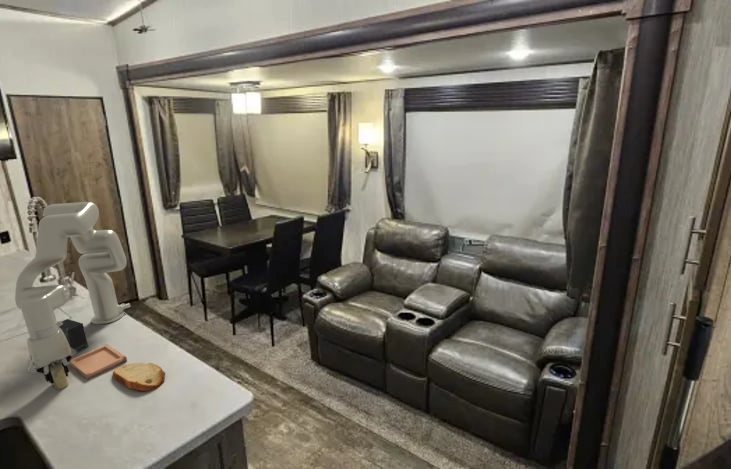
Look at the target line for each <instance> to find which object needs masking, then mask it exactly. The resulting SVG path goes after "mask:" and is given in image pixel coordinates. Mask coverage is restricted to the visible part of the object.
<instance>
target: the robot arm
mask: <svg viewBox="0 0 731 469" xmlns="http://www.w3.org/2000/svg"><path fill="white" fill-rule="evenodd" d="M42 213H43V217H42V218H40V220H39V223H38V230H37V241H36V250H35V252H36V253H35V256H34V258H33V259H31V260H30V262H28V263H27V264H26V266H25V267H24V268H23V269H22V270H21V272H20V274H19V275H18V276H17V279H16V285H15V294H14V300H15V305H16V307H17V308H18V309H20V311H21V313H22V316H23V319H24V323H25V325H26V326H25V327H26V329H27V332H28V335H29V337H28V338H27V342H26V343H27V350H28V356H29V359H30V363H29V365H28V368H27V372H29V373H37V374H38V373H39V374H42V375H43V376H44V378H45V379H44V380H45V381H46V382H49V383H50V384H51V385H53V384H52V383H54V381H53V378H52V374H51V372H50V371H49V369H48V365H49V364H51V363H52V362H56V360H59V361H60V362H61V364H62V366H63V368H64V371H65V374H66V378H68V377H69V373H70V370H69V367H68V365H69V361H70V360H71V359H73V357H74V356H75V355H76V354H77V353H78V352H77V351H76V350H75V349H73V348H71V347H70V346H69V344H68V341H67V339H66V337H65V335H64V333H63V331H62V330H61V328H59V327H60V326H61V325H63V322H62V321H63V320H61V321H58V320H57V318H56V314H55V310H57V309H59V308H60V307H62V306H64V305H65V304H67V303H68V301H69V300H70V297H71V290H70V289H69V287H68V286H66V285H63V284H52V285H41V286H36V287H35V286H34V287H33V285H34V283H35V280H36V279H37V278H38V277H39V276H40V274H43V273H44V272H45V271H47V270H48V269H50V268H52V267H54V266H56V265H58V264H60V263H63V262H64V261H65V260H66V258H67V256H68V255H67V254H68V242H69V241H68V239H69V238H70V240H71V242H72V245H73V246H74V248H75V250H76V251H77V253H79V254H81V256H80V257H79V259H78V263H77V264H78V267H79V269H80V272H81V273H82V276H83V278H84V281H85V283H86V284H85V285H86V286H87V287H86V288H87V291H88V295H89V299H90V302H91V306H92V310H93V314H94V315H93V317H91V323H92V324H94V325H105V324H109V323H113V322H115V321H118V320H120V319H121V318H123V317H124V315H125V311H124V310H125V309H128V308H131V303H129V302H128V303H121V304H118V298H117V296H116V291H115V287H114V286H115V285H114V282H113V279H112V278H111V276H110V275H109V274H108V273H112V272H113V273H114V272H119V271H123V270H124V269H125V268H126V267H127V262H128V261H127V257H126V254H125V251H124V249H123V246H122V243H121V241H120V238H119V235H118V234H117V232H115V231H114V230H112V229H100V230H95V229H94V226H95V225H96V223H97V222H98V219H99V217H100V211H99V208H98V206H97V204H95V203H93V202H91V201H82V202H81V201H79V202H70V203H69V202H67V203H66V202H65V203H63V202H62V203H54V204H53V203H51V204H48V205H46V206H45V207H44V209H43V212H42Z"/></svg>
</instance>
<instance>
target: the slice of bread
mask: <svg viewBox="0 0 731 469" xmlns="http://www.w3.org/2000/svg"><path fill="white" fill-rule="evenodd" d="M112 378H113V379H114V381H116V382H118V383H120V384H121V385H122V386H124V387H126V388H129V389H131V390H136V391H141V392H142V391H143V392H144V391H145V392H146V391H147V392H149V391H153V390H158V388H160V387H161V386H162V385H163V384H164V383H165V378H166V372H165V371H164V370H163V368H161V366H159V365H157V364H155V363H151V362H147V363H145V362H134V363H128V364H124V365H121V366H120V365H119V367H118V366H117V367H116V368H114V369H113V371H112Z"/></svg>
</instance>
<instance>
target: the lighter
mask: <svg viewBox="0 0 731 469" xmlns="http://www.w3.org/2000/svg"><path fill="white" fill-rule="evenodd" d="M48 369H49V371H50V372H51V374H52V378H53V381H54V383H52V384H51V385H53V386H52V387H53V388H55V389H56V390H62V389H65V388H66V387H67V386H68V385H69V383H70V382H69V380H68V377H66V374H65V371H64V368H63V366H62V364H61V361H60V360H56V362H52V363H51V364H49V365H48Z"/></svg>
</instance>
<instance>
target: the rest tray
mask: <svg viewBox="0 0 731 469" xmlns="http://www.w3.org/2000/svg"><path fill="white" fill-rule="evenodd" d="M126 362H128V358H127V356H126V355H124V354H123V353H121V352H120V351H118V350H117V349H115V348H114V347H112V346H111V345H109V344H107V343H106V344H103V345H101V346H99V347H97V348H94V349H92V350H89V351H88V352H85V353H83V354H81V355H78V356H75V357H74V358H73V357H72V358H71V359H70V361H69V362H68V365H70V367H72V368H73V369H75V371H77V372H78V373H79V374H81V375H82V376H83V377H84V378H85V379H86V380H91V379H92V378H94V377H96V376H98V375H100V374H103V373H106V372H107V371H109V370H111V369H113V368H115V367H118V366H120V365H122V364H123V363H126Z"/></svg>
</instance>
